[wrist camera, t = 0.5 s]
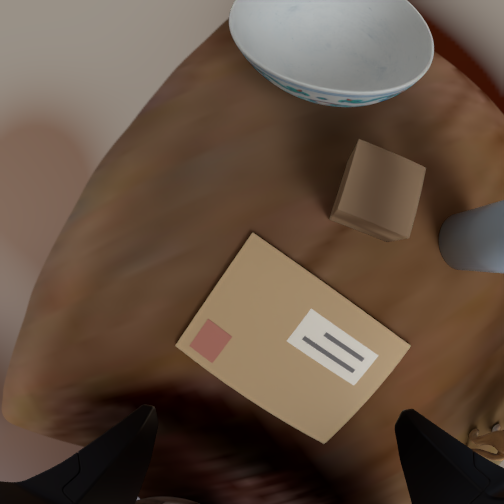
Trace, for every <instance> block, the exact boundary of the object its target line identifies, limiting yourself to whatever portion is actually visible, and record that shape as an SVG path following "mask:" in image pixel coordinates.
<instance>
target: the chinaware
mask: <svg viewBox="0 0 504 504" xmlns="http://www.w3.org/2000/svg"><path fill="white" fill-rule="evenodd" d="M229 28H230V32H231V35H232V37H233V39H234V42H235V43H236V45H237V47H238V48H239V50H240V51H241V52H242V54H243V55H244V56H245V58H246V59H247V60H248V61H249V62H250V64H251V65H252V66H253V67H254V68H255V69H256V70H257V71H258V72H259V73H260V74H261V75H263V76H264V77H265V78H266V79H267V80H269V81H270V82H271V83H273V84H274V85H276V86H277V87H279V88H281V89H282V90H284V91H286V92H288V93H290V94H292V95H294V96H296V97H298V98H301V99H304V100H307V101H310V102H313V103H317V104H321V105H327V106H335V107H358V106H366V105H371V104H375V103H379V102H382V101H385V100H387V99H390V98H392V97H394V96H396V95H398V94H400V93H402V92H403V91H405V90H406V89H408V88H409V87H411V86H412V85H413V84H415V83H416V82H417V81H418V80H419V79H420V78H421V77H422V76H423V75H424V74H425V73H426V72H427V70H428V69H429V67H430V65H431V63H432V59H433V54H434V44H433V39H432V35H431V33H430V30H429V28H428V26H427V24H426V22H425V21H424V19H423V18H422V16H421V15H420V14H419V12H418V11H417V10H416V9H415V8H414V7H413V6H412V5H411V4H410V3H409V2H408V1H407V0H235V1H234V3H233V5H232V7H231V10H230V14H229Z"/></svg>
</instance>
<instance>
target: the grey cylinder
mask: <svg viewBox="0 0 504 504" xmlns="http://www.w3.org/2000/svg"><path fill="white" fill-rule="evenodd" d="M439 248H440V252H441V255H442V257H443V259H444V260H445V262H446V263H447V264H448V265H449V266H450V267H452V268H454V269H457V270H467V271H480V272H493V273H504V200H502V201H499V202H495V203H492V204H489V205H485V206H482V207H478V208H475V209H471V210H468V211H464V212H461V213H457V214H454V215H451V216H450V217H448V218H447V219H446V220H445V221H444V223H443V225H442V227H441V229H440V233H439Z"/></svg>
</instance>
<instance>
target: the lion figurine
mask: <svg viewBox="0 0 504 504" xmlns="http://www.w3.org/2000/svg"><path fill="white" fill-rule="evenodd" d="M500 427H501V426H500V424H497V425H495V426H494V427H493V429H492V432H491V433H488V434H485V435H483V436H479V437H477V435H478V433H479V430H478V429H473V430H472V431H471V432H470V434H469V439H470V440H471V442H473V443H475V444H476V445H478V446H480V445H484V444H486V445H492V446H493V447H495V448H496V449H497V450H498V453H497V454H494V453H491V452H487V451H484V450H481V449H472V450H473V451H475V452H476V453H478V454H480V455H482V456H484V457H486V458H489V459H492V460H498V461H501V460H504V430H500Z"/></svg>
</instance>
